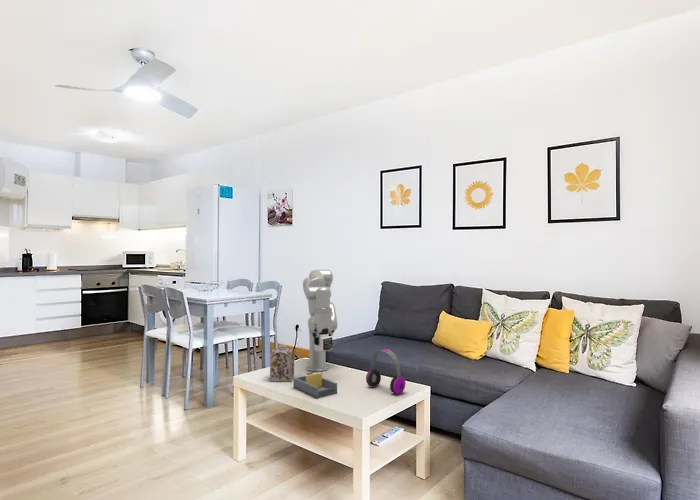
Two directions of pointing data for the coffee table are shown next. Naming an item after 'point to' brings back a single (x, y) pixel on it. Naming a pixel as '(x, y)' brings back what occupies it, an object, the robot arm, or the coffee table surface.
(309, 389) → the gray tray
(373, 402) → the coffee table surface
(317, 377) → the pusher
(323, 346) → the medicine bottle
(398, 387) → the headphones
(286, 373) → the decorative jar
